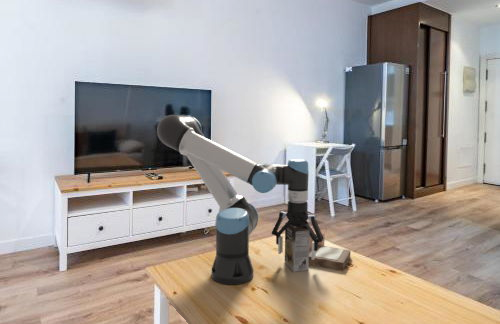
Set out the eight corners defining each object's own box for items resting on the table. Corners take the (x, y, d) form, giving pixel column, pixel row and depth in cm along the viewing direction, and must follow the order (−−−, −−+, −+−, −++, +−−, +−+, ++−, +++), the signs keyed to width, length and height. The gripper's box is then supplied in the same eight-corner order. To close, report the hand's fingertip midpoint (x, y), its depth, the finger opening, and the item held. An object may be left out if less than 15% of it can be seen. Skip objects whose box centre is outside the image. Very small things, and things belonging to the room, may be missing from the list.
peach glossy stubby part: (305, 249, 154) (306, 234, 153) (310, 244, 160) (310, 229, 160) (321, 252, 151) (322, 236, 150) (325, 246, 157) (326, 231, 157)
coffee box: (283, 262, 140) (284, 222, 138) (298, 260, 142) (299, 221, 140) (293, 272, 132) (294, 229, 130) (309, 270, 134) (310, 228, 132)
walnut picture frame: (306, 263, 139) (307, 255, 139) (316, 251, 152) (316, 244, 151) (343, 270, 133) (343, 262, 133) (350, 257, 146) (350, 249, 145)
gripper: (263, 199, 136) (263, 253, 138) (327, 206, 125) (326, 265, 128) (271, 195, 142) (270, 247, 145) (332, 202, 132) (331, 257, 134)
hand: (296, 255), depth 136 cm, fingers open, 12 cm apart
